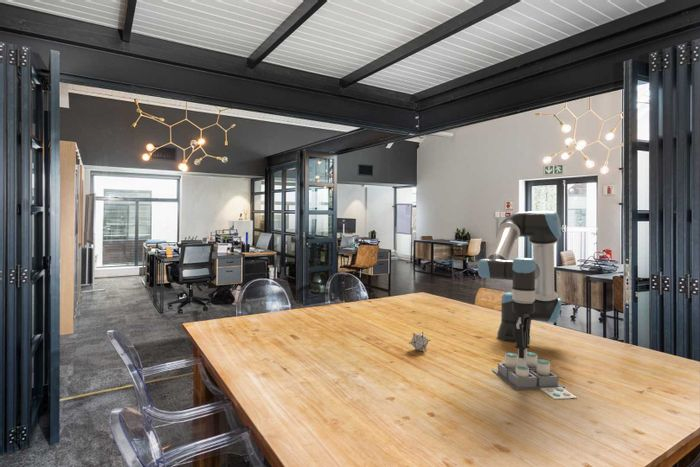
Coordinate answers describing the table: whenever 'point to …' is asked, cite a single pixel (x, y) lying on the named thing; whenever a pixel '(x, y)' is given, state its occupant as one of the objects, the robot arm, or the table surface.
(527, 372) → the button
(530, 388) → the board
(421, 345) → the game die
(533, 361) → the button
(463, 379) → the table surface
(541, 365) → the button
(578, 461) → the table surface
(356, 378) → the table surface
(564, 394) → the card
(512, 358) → the button
